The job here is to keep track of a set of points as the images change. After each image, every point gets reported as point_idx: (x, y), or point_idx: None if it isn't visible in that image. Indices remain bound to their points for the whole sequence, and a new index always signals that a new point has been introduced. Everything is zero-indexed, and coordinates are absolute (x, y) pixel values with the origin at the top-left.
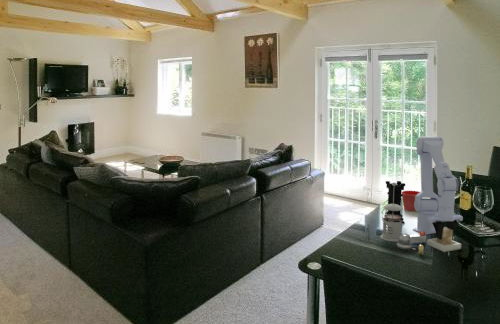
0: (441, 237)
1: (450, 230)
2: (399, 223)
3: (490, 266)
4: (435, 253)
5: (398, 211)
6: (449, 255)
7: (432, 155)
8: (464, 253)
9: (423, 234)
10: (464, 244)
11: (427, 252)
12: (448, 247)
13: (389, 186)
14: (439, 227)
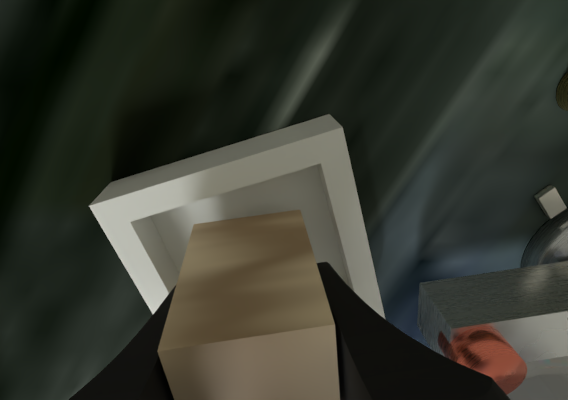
0: (321, 273)
1: (204, 340)
2: None
3: None
4: (433, 87)
5: None
6: (327, 14)
7: None
8: (127, 57)
9: (494, 339)
10: (25, 285)
11: (489, 119)
12: (278, 141)
13: None
14: (459, 365)
